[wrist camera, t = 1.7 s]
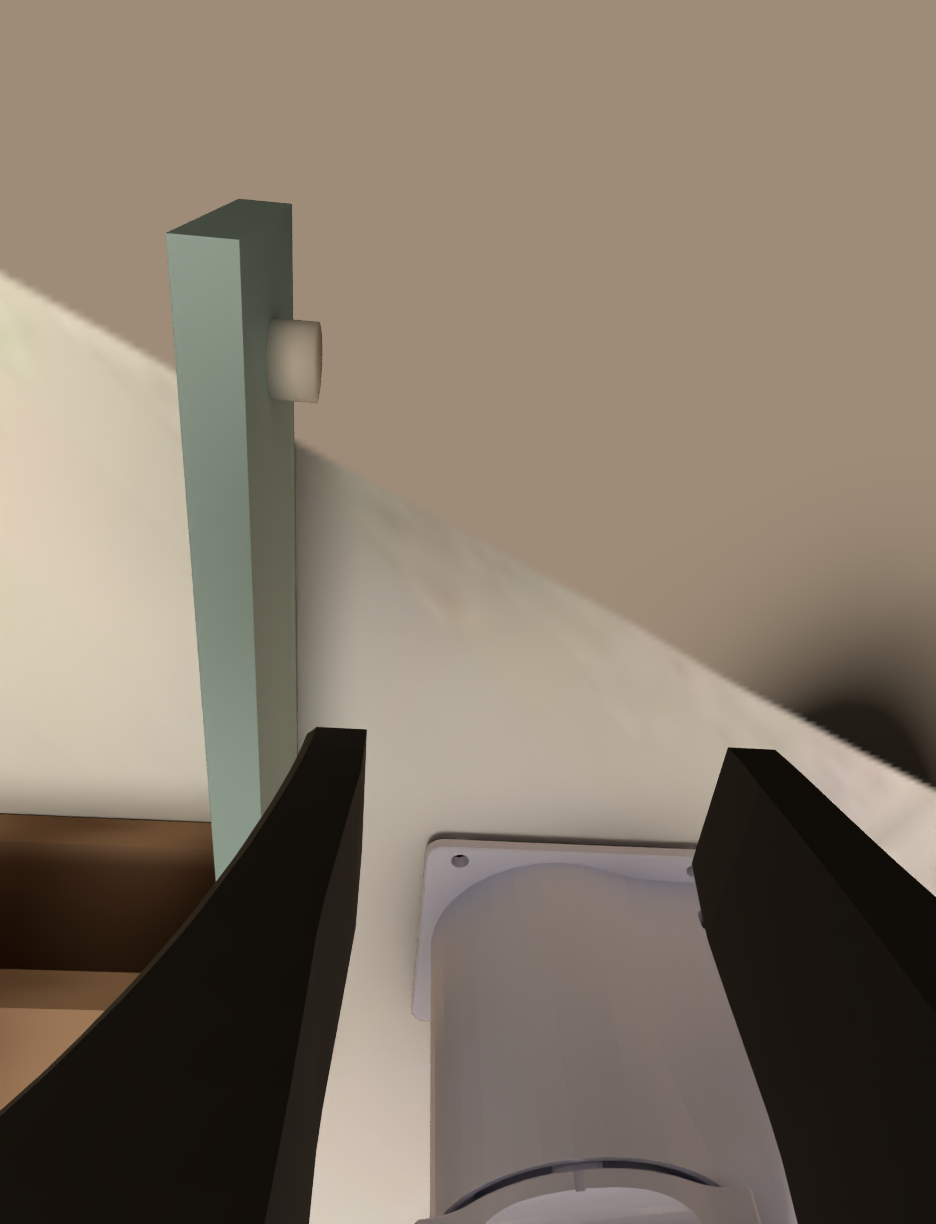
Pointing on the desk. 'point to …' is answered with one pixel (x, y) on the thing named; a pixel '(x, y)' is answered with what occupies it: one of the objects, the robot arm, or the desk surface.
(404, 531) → the desk surface
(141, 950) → the walnut cabinet
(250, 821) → the cabinet door
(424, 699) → the desk surface
